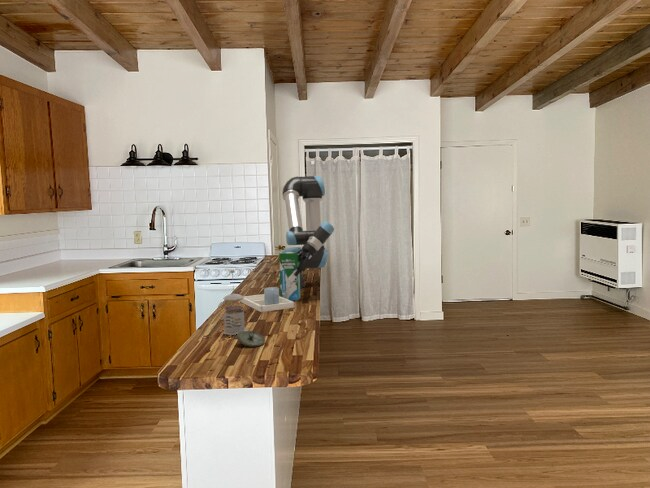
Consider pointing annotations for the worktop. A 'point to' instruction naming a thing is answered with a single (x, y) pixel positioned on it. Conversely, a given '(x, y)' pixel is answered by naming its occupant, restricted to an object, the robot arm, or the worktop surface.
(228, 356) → the worktop surface
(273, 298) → the mug
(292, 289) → the milk carton
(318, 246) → the robot arm
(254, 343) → the lid
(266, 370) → the worktop surface
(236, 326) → the french press
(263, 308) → the tray
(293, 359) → the worktop surface
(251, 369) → the worktop surface
